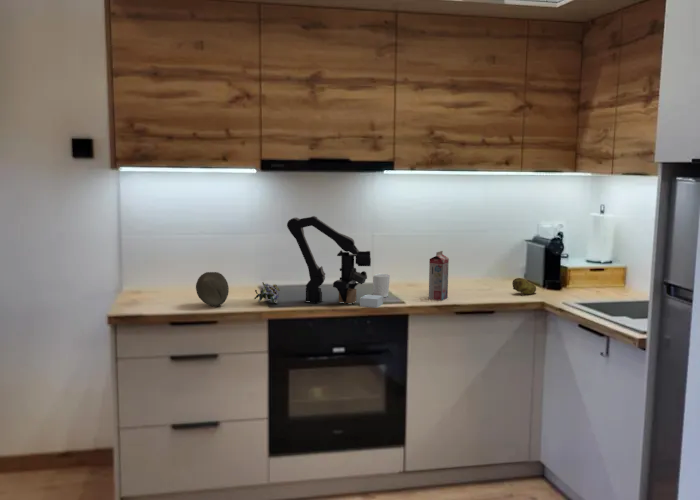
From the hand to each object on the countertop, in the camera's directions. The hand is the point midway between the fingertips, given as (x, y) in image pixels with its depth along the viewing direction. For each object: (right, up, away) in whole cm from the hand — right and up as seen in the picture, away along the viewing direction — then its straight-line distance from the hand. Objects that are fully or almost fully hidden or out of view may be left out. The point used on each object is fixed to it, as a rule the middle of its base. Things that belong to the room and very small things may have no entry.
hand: (347, 300), depth 296 cm
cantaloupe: (-59, -2, -8) cm, 59 cm away
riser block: (+11, -2, -4) cm, 12 cm away
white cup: (+16, +1, +15) cm, 22 cm away
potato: (+85, +1, +22) cm, 88 cm away
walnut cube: (0, -1, 0) cm, 1 cm away
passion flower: (-36, -2, -3) cm, 36 cm away
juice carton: (+42, 0, +10) cm, 43 cm away
